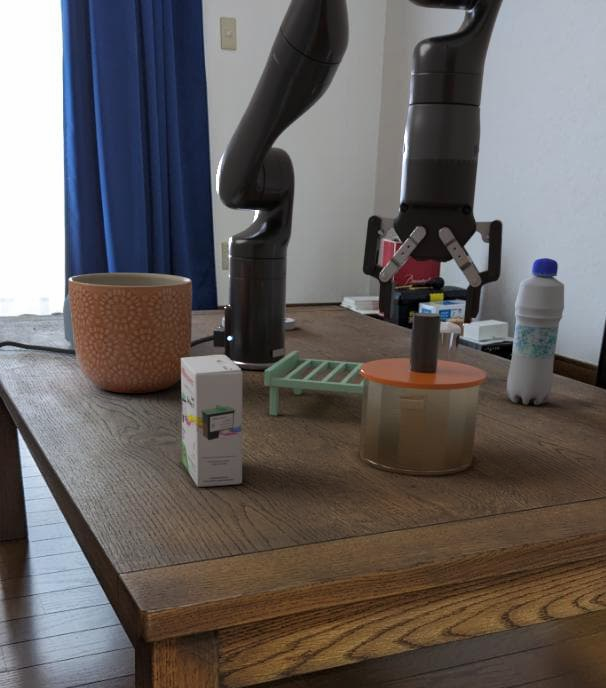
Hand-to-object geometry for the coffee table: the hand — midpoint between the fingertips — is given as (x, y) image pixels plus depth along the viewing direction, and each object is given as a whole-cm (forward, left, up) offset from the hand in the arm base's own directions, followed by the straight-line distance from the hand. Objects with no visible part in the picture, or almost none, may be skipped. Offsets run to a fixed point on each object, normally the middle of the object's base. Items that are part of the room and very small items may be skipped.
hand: (427, 320), depth 96 cm
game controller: (-42, +79, -16) cm, 91 cm away
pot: (0, 0, -16) cm, 16 cm away
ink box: (-20, -13, -16) cm, 29 cm away
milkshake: (-1, +44, -16) cm, 47 cm away
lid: (0, 0, -6) cm, 6 cm away
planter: (-44, +22, -16) cm, 52 cm away
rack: (-14, +20, -16) cm, 29 cm away
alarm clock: (-59, +50, -16) cm, 79 cm away
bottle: (+12, +34, -16) cm, 39 cm away
